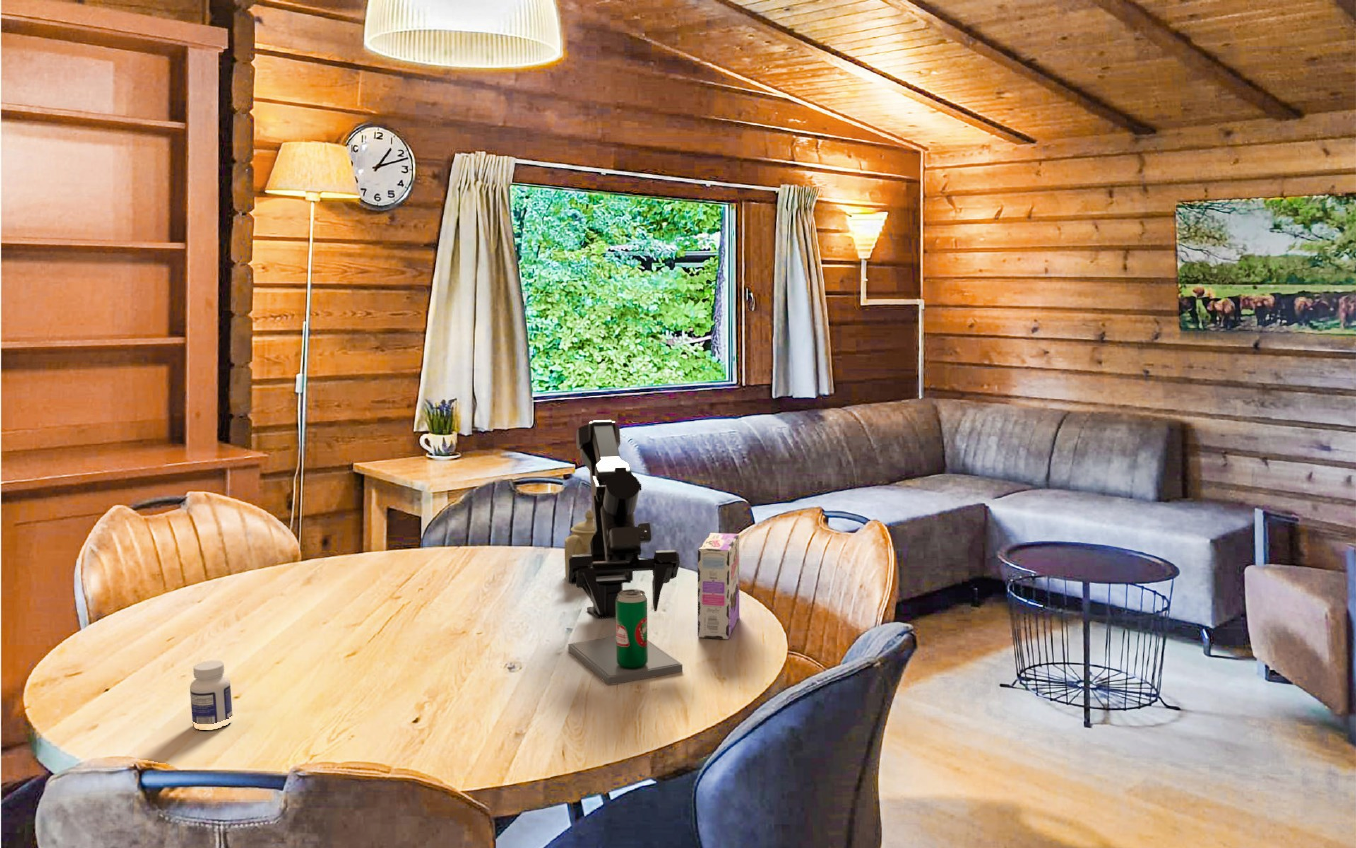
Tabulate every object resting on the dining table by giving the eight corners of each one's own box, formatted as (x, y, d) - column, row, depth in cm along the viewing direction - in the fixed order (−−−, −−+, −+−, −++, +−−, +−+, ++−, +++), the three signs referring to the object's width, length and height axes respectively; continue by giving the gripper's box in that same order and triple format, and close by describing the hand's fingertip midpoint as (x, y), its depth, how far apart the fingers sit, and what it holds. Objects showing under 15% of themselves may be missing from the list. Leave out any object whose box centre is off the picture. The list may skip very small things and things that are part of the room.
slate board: (568, 650, 181) (568, 643, 180) (637, 639, 186) (637, 632, 186) (608, 685, 165) (608, 677, 164) (682, 671, 170) (682, 663, 170)
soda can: (612, 662, 171) (611, 590, 170) (641, 658, 173) (640, 587, 172) (623, 672, 166) (622, 598, 165) (652, 667, 168) (651, 594, 167)
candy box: (729, 640, 186) (729, 549, 184) (696, 638, 187) (696, 548, 185) (740, 617, 199) (740, 532, 197) (709, 615, 200) (709, 531, 198)
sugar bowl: (619, 587, 220) (618, 517, 218) (566, 589, 218) (564, 519, 216) (614, 569, 234) (613, 503, 232) (564, 571, 233) (563, 504, 231)
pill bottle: (219, 714, 154) (215, 656, 153) (240, 722, 151) (236, 663, 150) (184, 726, 150) (181, 666, 149) (205, 735, 147) (201, 674, 146)
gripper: (567, 508, 174) (574, 592, 165) (677, 503, 178) (690, 585, 168) (564, 542, 183) (570, 624, 174) (669, 537, 186) (681, 617, 177)
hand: (628, 612), depth 173 cm, fingers open, 9 cm apart
